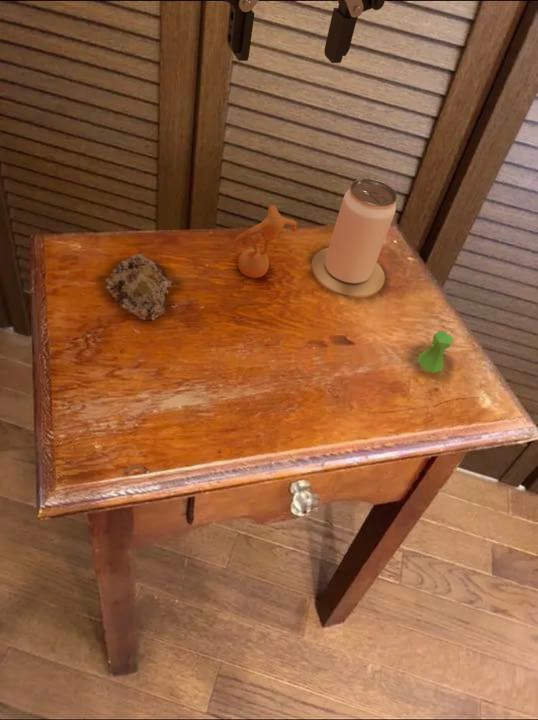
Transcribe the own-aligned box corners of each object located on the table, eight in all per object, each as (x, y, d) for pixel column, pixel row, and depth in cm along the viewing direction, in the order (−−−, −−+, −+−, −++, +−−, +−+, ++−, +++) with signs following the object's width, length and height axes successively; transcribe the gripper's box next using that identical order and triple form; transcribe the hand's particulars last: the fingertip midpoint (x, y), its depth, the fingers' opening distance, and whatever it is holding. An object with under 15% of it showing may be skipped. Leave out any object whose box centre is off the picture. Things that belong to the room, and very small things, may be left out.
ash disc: (307, 296, 76) (310, 287, 75) (310, 249, 82) (312, 240, 81) (383, 310, 76) (386, 301, 75) (379, 262, 83) (383, 253, 82)
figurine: (272, 260, 79) (289, 182, 71) (293, 289, 76) (313, 211, 67) (216, 271, 76) (226, 191, 67) (235, 302, 73) (248, 222, 64)
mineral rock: (93, 256, 71) (157, 237, 71) (105, 281, 74) (166, 262, 75) (109, 322, 65) (179, 299, 66) (121, 345, 68) (187, 323, 69)
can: (344, 247, 81) (369, 170, 73) (380, 273, 79) (410, 197, 70) (313, 264, 78) (336, 185, 69) (350, 292, 75) (378, 214, 66)
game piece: (413, 381, 69) (432, 346, 65) (406, 353, 72) (423, 319, 67) (447, 383, 70) (469, 349, 65) (439, 356, 72) (459, 322, 68)
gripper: (249, -212, 33) (220, 78, 45) (455, -173, 38) (379, 79, 50) (211, -233, 37) (194, 37, 49) (401, -196, 42) (343, 41, 54)
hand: (287, 58), depth 50 cm, fingers open, 8 cm apart
